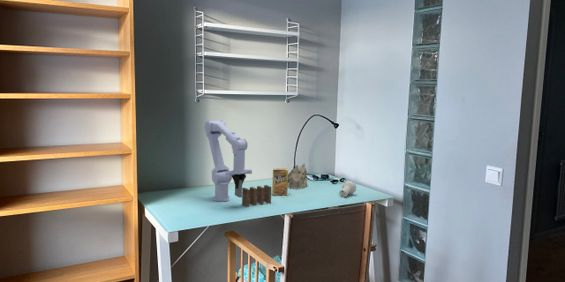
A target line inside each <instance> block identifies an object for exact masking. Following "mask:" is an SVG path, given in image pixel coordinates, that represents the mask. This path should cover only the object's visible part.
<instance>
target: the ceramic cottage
mask: <svg viewBox="0 0 565 282" xmlns="http://www.w3.org/2000/svg"><path fill="white" fill-rule="evenodd" d="M307 172H308V171H307V168H306V166H305V162H303V163H302V164H301V166H299V165H298V164H296V165H294V168H292V169H291V171H290V172H288V188H287V189H292V190H301V188H302V189H306V188H307V187H308V180H307V179H308V178H307ZM305 187H306V188H305Z"/></svg>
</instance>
